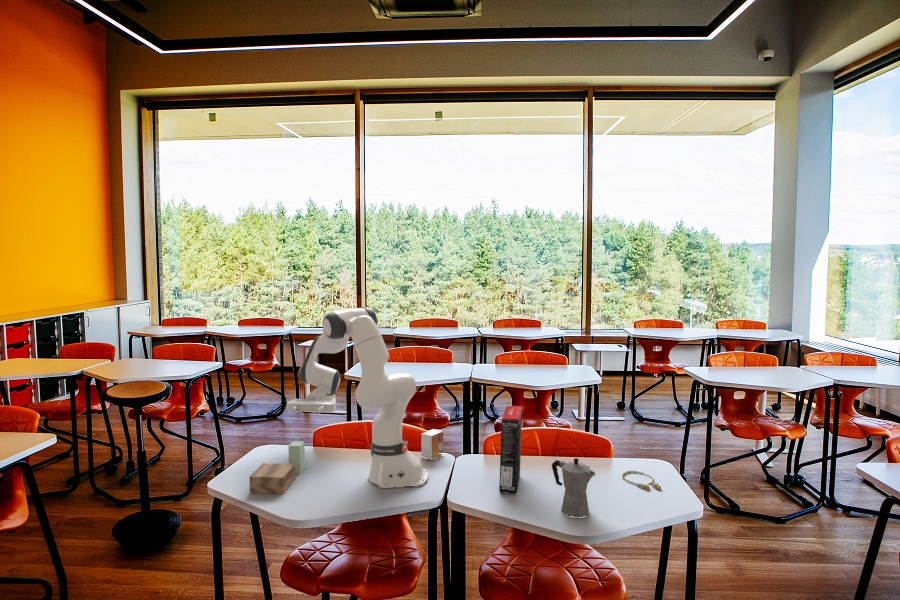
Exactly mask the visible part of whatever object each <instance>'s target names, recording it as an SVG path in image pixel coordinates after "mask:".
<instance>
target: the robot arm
mask: <svg viewBox="0 0 900 600" xmlns="http://www.w3.org/2000/svg"><path fill="white" fill-rule="evenodd" d="M322 331H323V332H322V334H321V335H317V336H316V337H315V338H314V339H313V341H312V343H311V345H310V347H309V349H308V351H307V353H306V356H305V357H304V361H303V363H302V365H300V368H299V370H298V378H299V380H300V382H301V383H304V384H308V385H312V386H314V387H316V388H315V389H314V390H312V391H311V392H310V393H309V394H307V395H306V397H305V398H293V399H291V400H289V401H287V402H286V411H287V412H292V413H294V414H297V413H298V412H299V413H300V412H301V413H302V412H305V413H306V412H307V413H314V414H320V413H334V412H336V409H337V397H336V393H337V392H338V390H339V389H340V386H341V382H342V376H341V374H340V372H339V370H337V369H335V368H331V367H329V366H326V365H323V364H319V363H318V362H316V361H315V360H317V359H316V358H317V356H318V354H337V353H339V352H342V351H344V350H345V349H346V348H347V346H348V343H349V340H350V337H351V339H352V342H353V347H354V348H355V352H356V355H357V357H358V358H357V359H358V360H359V363H360V368H361V378H360V381H359V383H358V385H357V387H356V389H355V400H356V402H357V404H358V405H359V407H360V408H362V409H365V410H373V409H374V410H377V409H379V411H378V413H377V414H376V415H375V417H374V418H373V419H372V423H371V426H372V428H371V430H372V431H371V437H372V438H371V439H372V440H371V442H370V443H371V444H370V454H371V456H370V457H371V464H370V470H369V473H368V478H367V479H368V481H369V482H370V483H372V484H375V485H377V486H378V487H379V488H380V489H393V488H394V487H396V488H405V487H404V486H411V485H422V484H424V483H425V482H426V481H427V482H428V480H429V471H428V470H427V469H425V468H424V467H423V465H422V461H421V459H420V457H418V456H416V454H414V453H412V451H409V450H408V440H406V441H405V440H404V439H403V421H404V415H405V412H406V409H407V406H408V404H409V403H410V400H411V399H412V398H413V397H414V395H416V392H417V383H416V380H415V378H414V376H413V375H412V374H410V373H407V372H395V373H391V374H386V372H385V365H386V364H387V362H388V361H389V359H390V353H389V351H388V348H387V345H386V344H385V341H384V339H383V336H382V333H381V331H380V329H379V327H378V317H377V314H376V312H375V311H374V310H373V309H372V308H371V307H368V306H364V307H363V306H362V307H357V308H346V309H342V310H340V309H336V310H333V311H331V312H330V313H328V314H326V315H325V316H324V317H323V320H322ZM427 479H428V480H427ZM427 482H426V483H427ZM426 483H425V484H426ZM425 484H424V485H425ZM422 486H423V485H422Z"/></svg>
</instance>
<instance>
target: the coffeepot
mask: <svg viewBox="0 0 900 600" xmlns="http://www.w3.org/2000/svg"><path fill="white" fill-rule="evenodd" d="M579 461H580V459H579V458H573V461H571V462H570V461H569V462H566V461H562V460H558V459H555V460H554V461H553V462H552V463H551V468H552V469H551V470H552V472H553V475H554V480H555V483H556V485H557V486H561V487H562V486H563V487H564V493H563V494H564V495H563V499H562V505H561V509H560V510H561V511H560V512H561V513H562V512H563V513H564V514H566V515H568V516H573V517H583V516H586V517H588V516H589V513H590V509H589V501H588V495H587V489H588V484H589V483H590V480H591V479H592V478H593V477H594V476H596V472H594V470H591V466H589V465H586V464H585V463H583V462H579ZM558 467H559V468H561V470H562V471H561V472H562V473H561V474H562V479H563V481H562V482H560V475H559V472H558ZM563 513H562V514H563ZM564 514H563V515H564ZM566 515H565V516H566ZM568 516H567V517H568Z"/></svg>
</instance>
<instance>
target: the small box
mask: <svg viewBox="0 0 900 600" xmlns="http://www.w3.org/2000/svg"><path fill="white" fill-rule="evenodd" d="M420 440H421V445H420V447H421V453H420V455H421V456H423V457H425V458H429V459H434V458H436V459H438V458H437V457H439V458H441V457H442V456H441V455H442V454H439V453H443V454H444V431H443V430H440V429H435V428H432V429H429V430H427V431H426V432H422V433H421V439H420ZM421 456H420V457H421ZM440 456H441V457H440ZM434 460H435V459H434Z"/></svg>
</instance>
